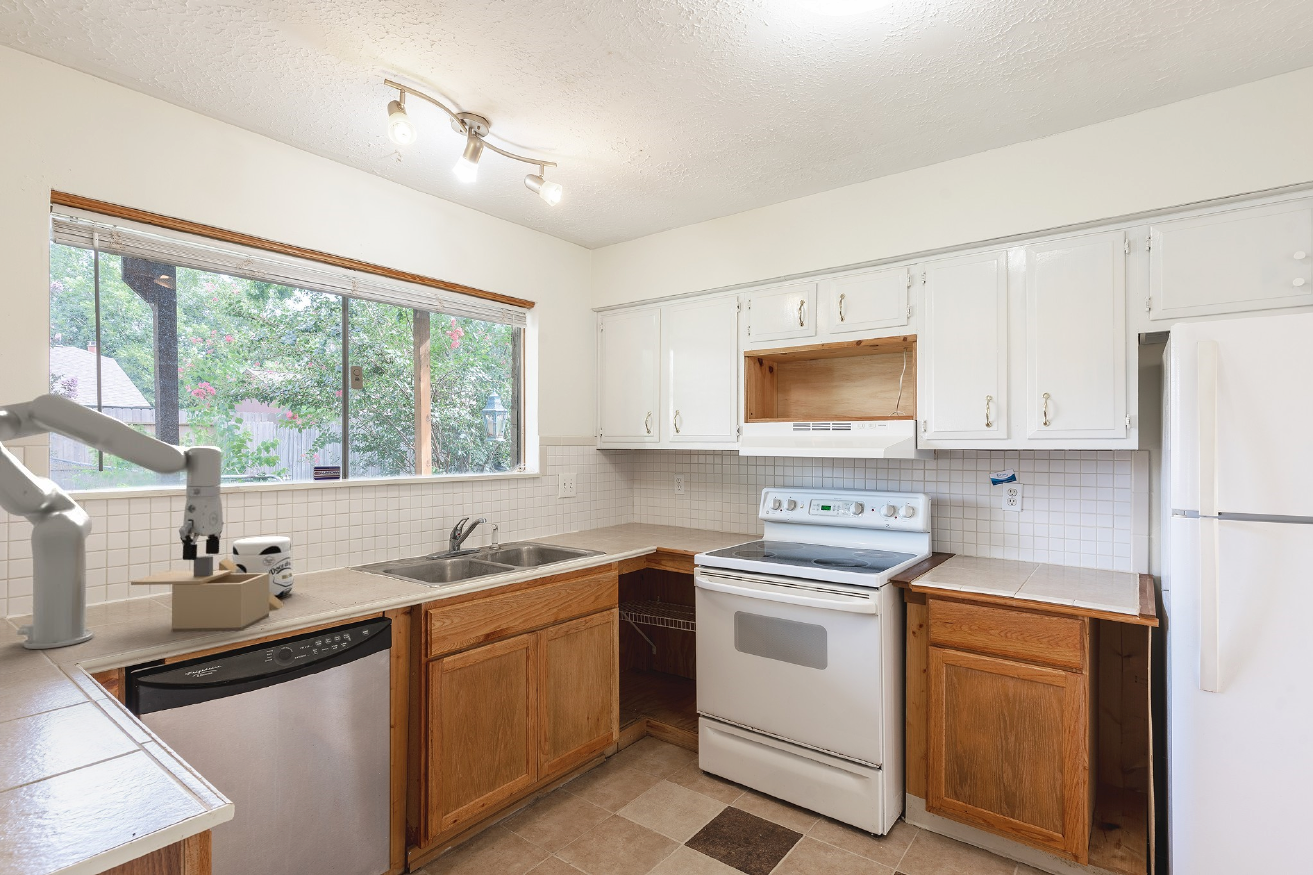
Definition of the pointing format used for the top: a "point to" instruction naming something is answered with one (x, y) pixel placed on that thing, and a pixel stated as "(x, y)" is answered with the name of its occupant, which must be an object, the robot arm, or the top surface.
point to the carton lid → (186, 574)
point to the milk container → (266, 561)
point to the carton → (221, 603)
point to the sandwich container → (228, 565)
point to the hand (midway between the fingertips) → (201, 556)
